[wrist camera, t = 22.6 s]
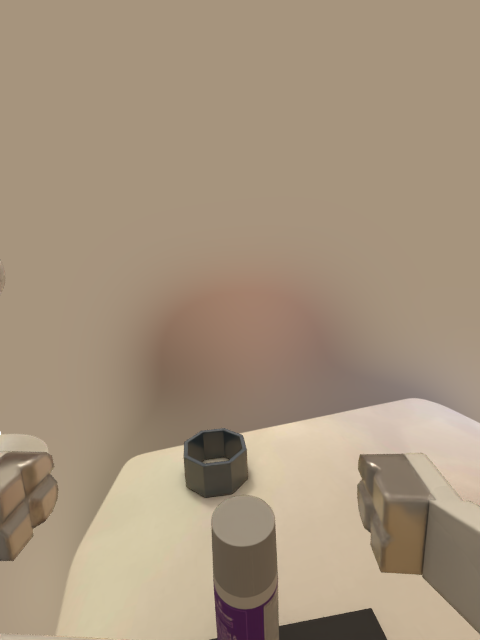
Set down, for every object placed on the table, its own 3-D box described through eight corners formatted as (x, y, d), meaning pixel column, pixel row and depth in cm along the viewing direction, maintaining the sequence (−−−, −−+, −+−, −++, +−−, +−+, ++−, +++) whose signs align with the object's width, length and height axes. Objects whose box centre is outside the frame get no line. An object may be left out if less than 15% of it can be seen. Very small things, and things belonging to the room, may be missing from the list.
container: (209, 699, 25) (196, 533, 22) (235, 633, 29) (228, 486, 26) (267, 734, 23) (262, 558, 20) (286, 659, 27) (285, 503, 24)
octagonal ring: (185, 500, 45) (183, 468, 44) (186, 459, 54) (184, 432, 53) (251, 491, 46) (249, 460, 45) (241, 453, 55) (240, 426, 54)
